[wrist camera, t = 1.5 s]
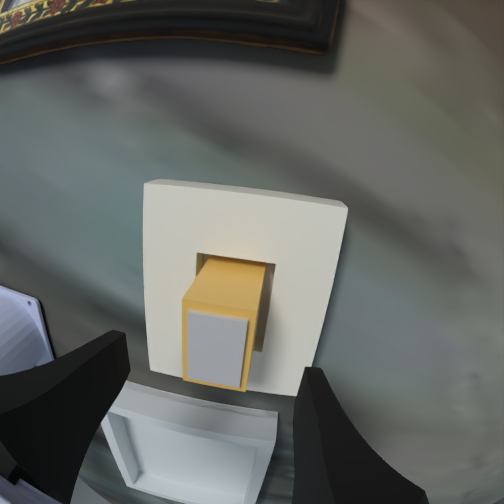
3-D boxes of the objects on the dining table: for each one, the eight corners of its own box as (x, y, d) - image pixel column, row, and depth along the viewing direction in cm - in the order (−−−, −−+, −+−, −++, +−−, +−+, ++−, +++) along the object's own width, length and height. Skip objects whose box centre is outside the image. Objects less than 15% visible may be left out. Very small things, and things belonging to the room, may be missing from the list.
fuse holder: (160, 352, 21) (150, 370, 19) (159, 178, 17) (144, 183, 15) (301, 376, 20) (302, 396, 18) (341, 201, 16) (348, 208, 14)
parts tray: (135, 467, 28) (127, 486, 25) (108, 374, 22) (92, 398, 20) (254, 494, 27) (251, 515, 24) (277, 411, 21) (275, 441, 19)
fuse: (208, 321, 19) (181, 383, 13) (212, 252, 17) (179, 301, 12) (257, 329, 19) (244, 395, 13) (266, 260, 17) (256, 313, 12)
